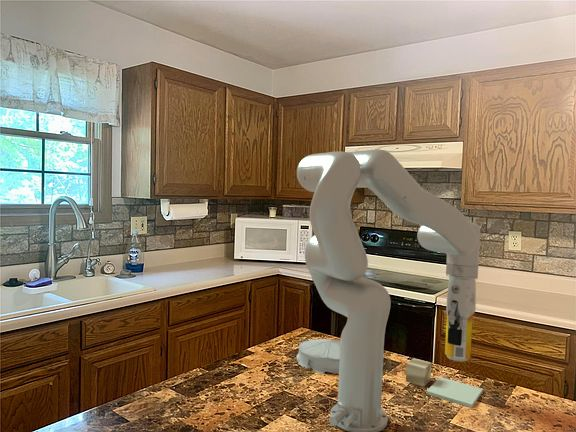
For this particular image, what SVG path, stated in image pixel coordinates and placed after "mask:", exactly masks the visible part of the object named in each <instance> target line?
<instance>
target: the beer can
mask: <svg viewBox="0 0 576 432" xmlns="http://www.w3.org/2000/svg"><path fill="white" fill-rule="evenodd" d="M470 307H471V311H470V317H469V318H467V319H464V318H462V324H461V330H462V341H461V345H460V346H458V345H453V344H449V343H448V324H449V322H448V321H449V320H448V315H447V314H446V322H445V324H446V326H445V341H444V342H445V344H444V346H445V347H444V354H445V356H446V357H447V358H448V360H452V361H454V362H463V363H464V362H467V361H469V359H470V358H471V354H472V353H471V351H472V336H473V335H472V332H473V318H474V317H473V316H474V314H473V304H471V306H470ZM449 312H450V311H449ZM456 316H458V317H460V314H457V313H456ZM455 320H457V322H458V321H459V319H455Z"/></svg>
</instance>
